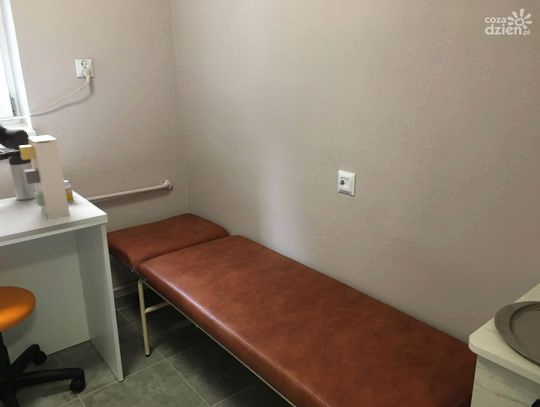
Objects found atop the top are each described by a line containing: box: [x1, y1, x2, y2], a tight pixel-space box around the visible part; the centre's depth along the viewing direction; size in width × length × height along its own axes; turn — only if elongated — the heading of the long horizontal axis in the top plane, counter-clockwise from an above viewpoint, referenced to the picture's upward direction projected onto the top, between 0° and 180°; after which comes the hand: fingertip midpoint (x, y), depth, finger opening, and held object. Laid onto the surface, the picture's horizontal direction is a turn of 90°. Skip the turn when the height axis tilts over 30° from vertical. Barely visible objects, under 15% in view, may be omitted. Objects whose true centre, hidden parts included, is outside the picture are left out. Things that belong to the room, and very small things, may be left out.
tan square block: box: [19, 145, 36, 160], centre depth 179 cm, size 6×6×5 cm
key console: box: [28, 135, 71, 220], centre depth 185 cm, size 18×8×32 cm, turn 36°
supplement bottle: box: [64, 179, 74, 203], centre depth 204 cm, size 5×5×10 cm
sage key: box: [35, 190, 45, 207], centre depth 186 cm, size 6×6×5 cm
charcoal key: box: [24, 167, 40, 184], centre depth 182 cm, size 6×6×5 cm
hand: (20, 153), depth 177 cm, fingers closed
